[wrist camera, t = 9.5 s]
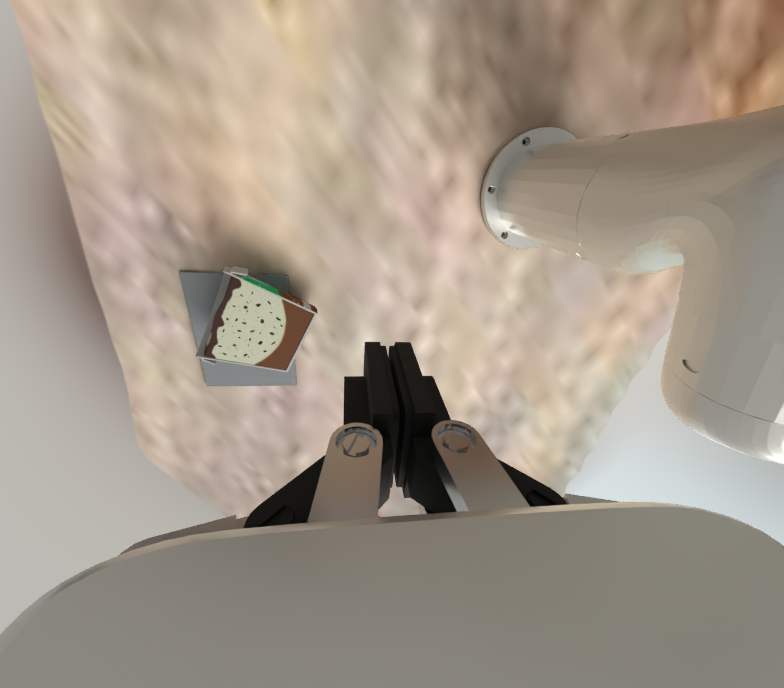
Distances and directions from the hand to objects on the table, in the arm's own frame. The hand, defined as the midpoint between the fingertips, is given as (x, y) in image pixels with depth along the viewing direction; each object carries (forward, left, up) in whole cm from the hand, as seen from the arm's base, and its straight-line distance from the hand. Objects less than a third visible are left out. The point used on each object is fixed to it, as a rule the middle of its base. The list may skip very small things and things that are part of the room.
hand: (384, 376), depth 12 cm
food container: (+7, +12, -27) cm, 30 cm away
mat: (+15, +13, -29) cm, 35 cm away
